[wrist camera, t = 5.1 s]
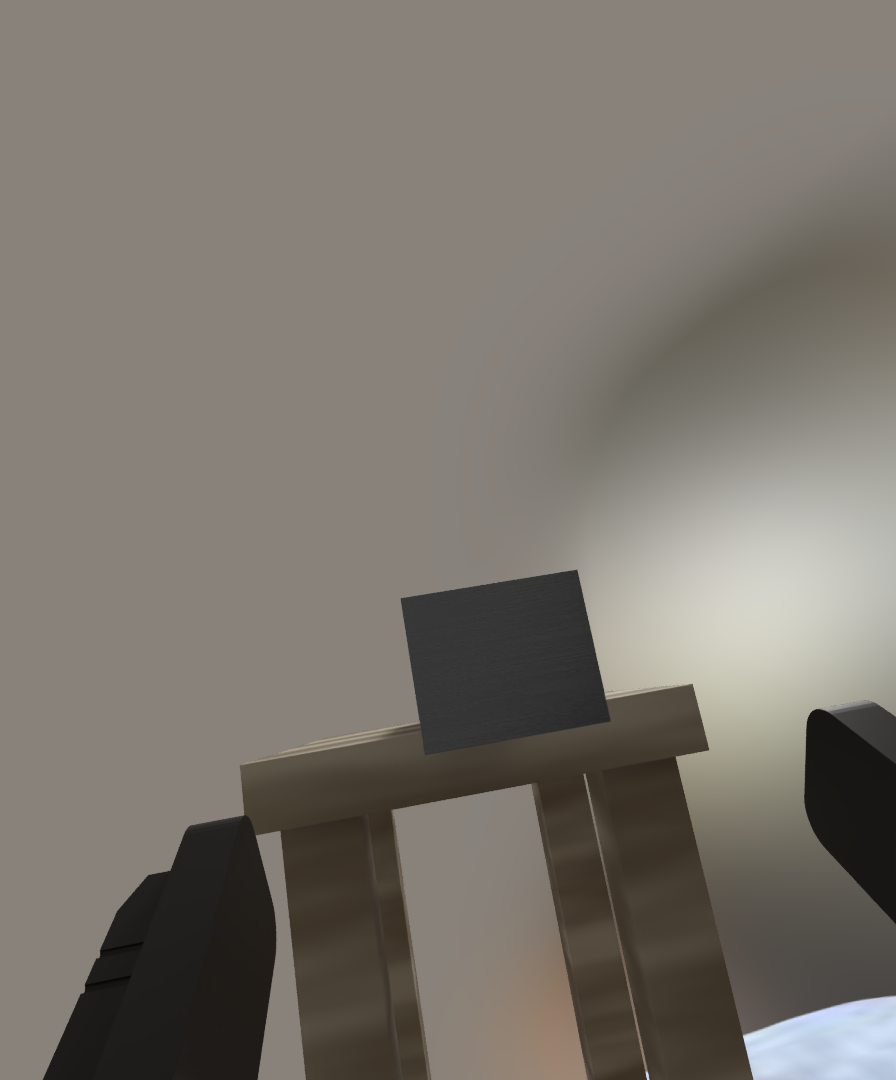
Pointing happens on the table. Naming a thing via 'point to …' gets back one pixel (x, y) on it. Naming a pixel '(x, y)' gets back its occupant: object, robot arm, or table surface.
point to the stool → (574, 871)
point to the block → (503, 662)
